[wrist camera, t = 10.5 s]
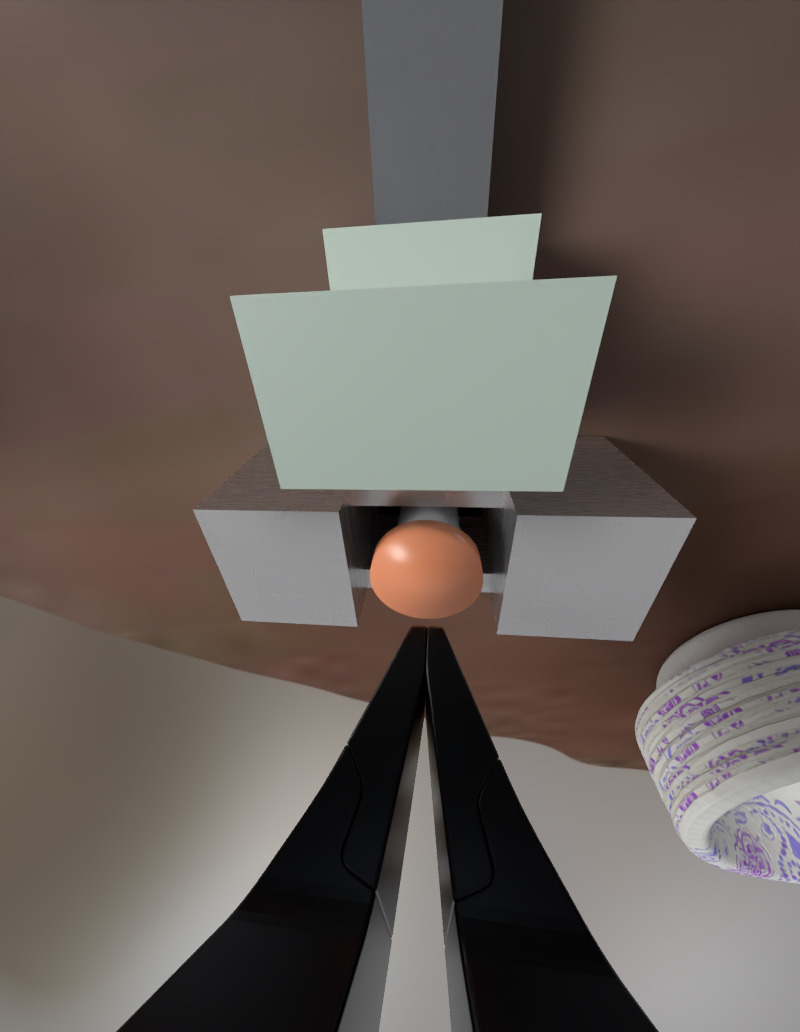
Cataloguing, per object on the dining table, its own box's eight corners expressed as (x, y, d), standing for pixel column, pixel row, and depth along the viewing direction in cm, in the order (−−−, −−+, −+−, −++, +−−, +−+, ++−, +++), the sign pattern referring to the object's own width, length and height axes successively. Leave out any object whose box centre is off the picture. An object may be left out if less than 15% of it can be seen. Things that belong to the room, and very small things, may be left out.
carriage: (353, 245, 11) (131, 126, 3) (514, 234, 10) (740, 59, 3) (367, 404, 14) (270, 555, 6) (495, 402, 13) (578, 565, 5)
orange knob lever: (386, 463, 14) (364, 533, 10) (474, 463, 14) (489, 536, 10) (391, 532, 16) (374, 616, 12) (468, 534, 16) (478, 621, 12)
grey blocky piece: (273, 438, 15) (193, 509, 10) (603, 436, 14) (696, 518, 9) (296, 529, 18) (242, 620, 13) (574, 535, 17) (632, 641, 12)
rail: (356, -319, 6) (328, -528, 5) (518, -358, 6) (547, -598, 5) (394, 426, 14) (389, 443, 13) (466, 425, 14) (470, 443, 12)
